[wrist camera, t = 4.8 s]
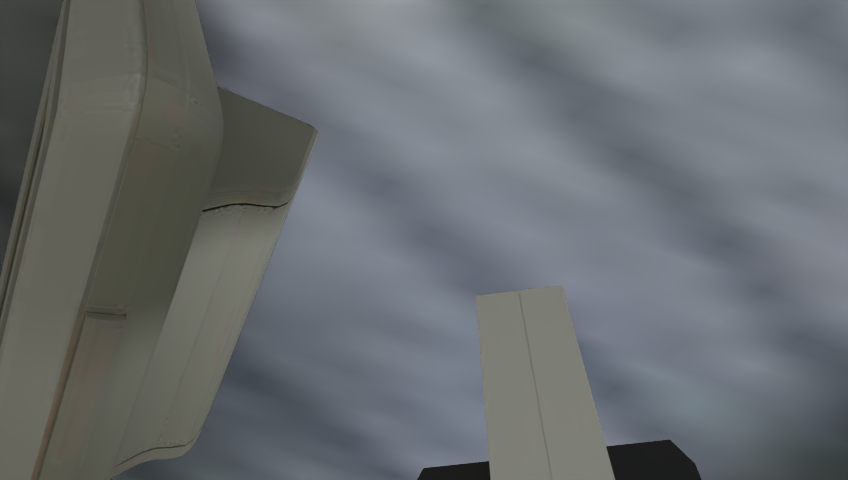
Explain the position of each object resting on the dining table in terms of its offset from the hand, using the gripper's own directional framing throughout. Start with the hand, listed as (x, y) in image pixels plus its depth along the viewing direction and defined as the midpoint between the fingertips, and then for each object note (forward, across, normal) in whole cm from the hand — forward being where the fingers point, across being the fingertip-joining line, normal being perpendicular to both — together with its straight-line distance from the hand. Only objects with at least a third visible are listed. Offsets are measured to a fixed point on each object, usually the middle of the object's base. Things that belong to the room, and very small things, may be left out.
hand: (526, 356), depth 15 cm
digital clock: (+10, +10, 0) cm, 14 cm away
